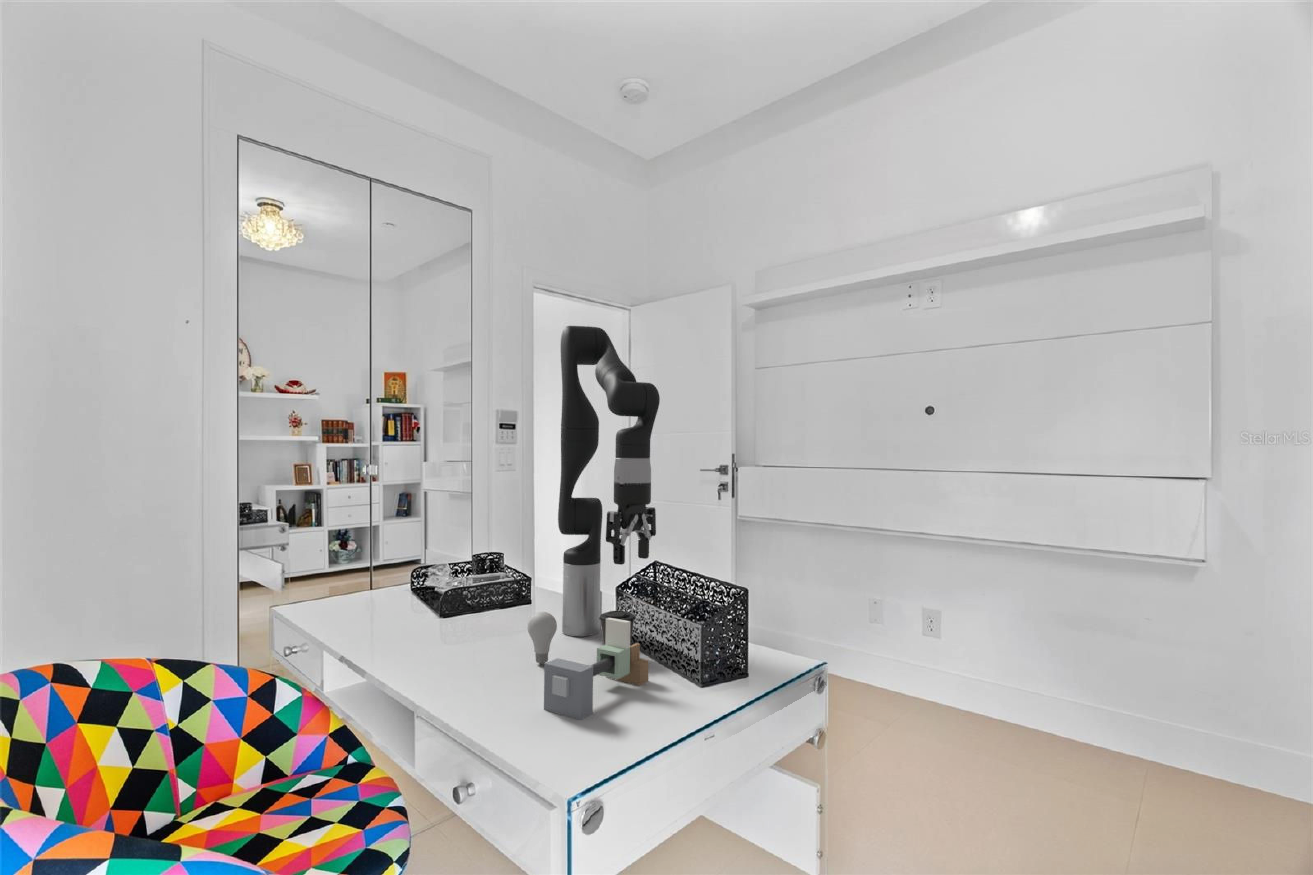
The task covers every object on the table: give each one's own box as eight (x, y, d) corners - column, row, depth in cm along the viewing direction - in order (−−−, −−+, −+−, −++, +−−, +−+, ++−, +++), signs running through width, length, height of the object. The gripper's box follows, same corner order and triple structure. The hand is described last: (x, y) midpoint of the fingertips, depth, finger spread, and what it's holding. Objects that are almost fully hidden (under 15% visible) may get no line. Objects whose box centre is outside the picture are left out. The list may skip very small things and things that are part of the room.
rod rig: (614, 673, 135) (615, 633, 135) (648, 680, 131) (648, 640, 131) (540, 710, 115) (541, 664, 115) (577, 721, 111) (578, 673, 111)
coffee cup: (630, 665, 140) (631, 618, 140) (593, 662, 141) (594, 615, 141) (639, 654, 147) (639, 609, 148) (604, 651, 149) (604, 606, 149)
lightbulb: (528, 670, 136) (529, 616, 136) (525, 660, 142) (526, 609, 142) (557, 668, 138) (558, 615, 138) (554, 658, 143) (555, 607, 144)
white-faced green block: (608, 668, 130) (609, 617, 130) (629, 673, 128) (630, 621, 128) (596, 674, 127) (597, 622, 127) (618, 679, 124) (618, 626, 124)
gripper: (637, 478, 141) (636, 554, 141) (596, 481, 130) (594, 564, 129) (666, 480, 137) (666, 558, 137) (627, 482, 125) (626, 568, 125)
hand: (631, 561), depth 133 cm, fingers open, 8 cm apart
